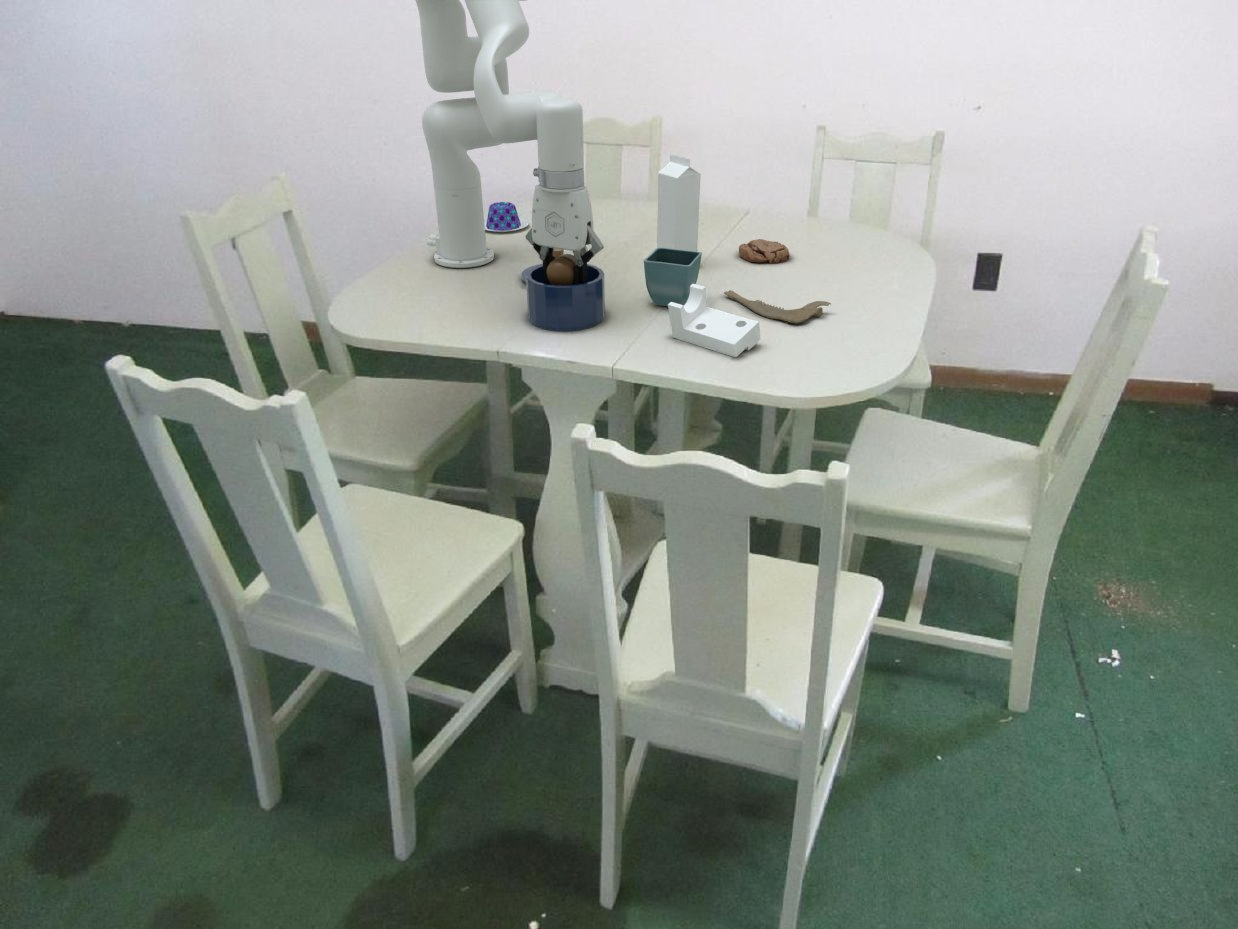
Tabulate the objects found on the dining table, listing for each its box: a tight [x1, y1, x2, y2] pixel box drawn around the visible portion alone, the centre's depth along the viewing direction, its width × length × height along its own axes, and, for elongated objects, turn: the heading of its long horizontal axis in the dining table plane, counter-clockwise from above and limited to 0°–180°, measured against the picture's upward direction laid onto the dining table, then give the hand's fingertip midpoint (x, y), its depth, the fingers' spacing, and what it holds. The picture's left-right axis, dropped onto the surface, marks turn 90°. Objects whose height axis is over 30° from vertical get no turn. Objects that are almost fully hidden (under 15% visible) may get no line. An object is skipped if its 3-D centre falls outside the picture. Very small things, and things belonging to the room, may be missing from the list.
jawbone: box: [723, 289, 832, 324], centre depth 165 cm, size 9×20×2 cm, turn 63°
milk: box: [656, 153, 701, 252], centre depth 182 cm, size 6×6×22 cm
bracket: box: [667, 283, 762, 358], centre depth 151 cm, size 13×7×8 cm, turn 49°
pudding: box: [484, 201, 530, 233], centre depth 211 cm, size 12×12×5 cm
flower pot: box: [643, 247, 703, 307], centre depth 167 cm, size 9×9×9 cm
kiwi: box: [547, 253, 577, 286], centre depth 159 cm, size 8×5×5 cm
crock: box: [525, 263, 606, 332], centre depth 161 cm, size 14×14×8 cm
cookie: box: [738, 238, 790, 264], centre depth 192 cm, size 10×11×3 cm
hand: (565, 282), depth 160 cm, fingers closed on kiwi, 5 cm apart
